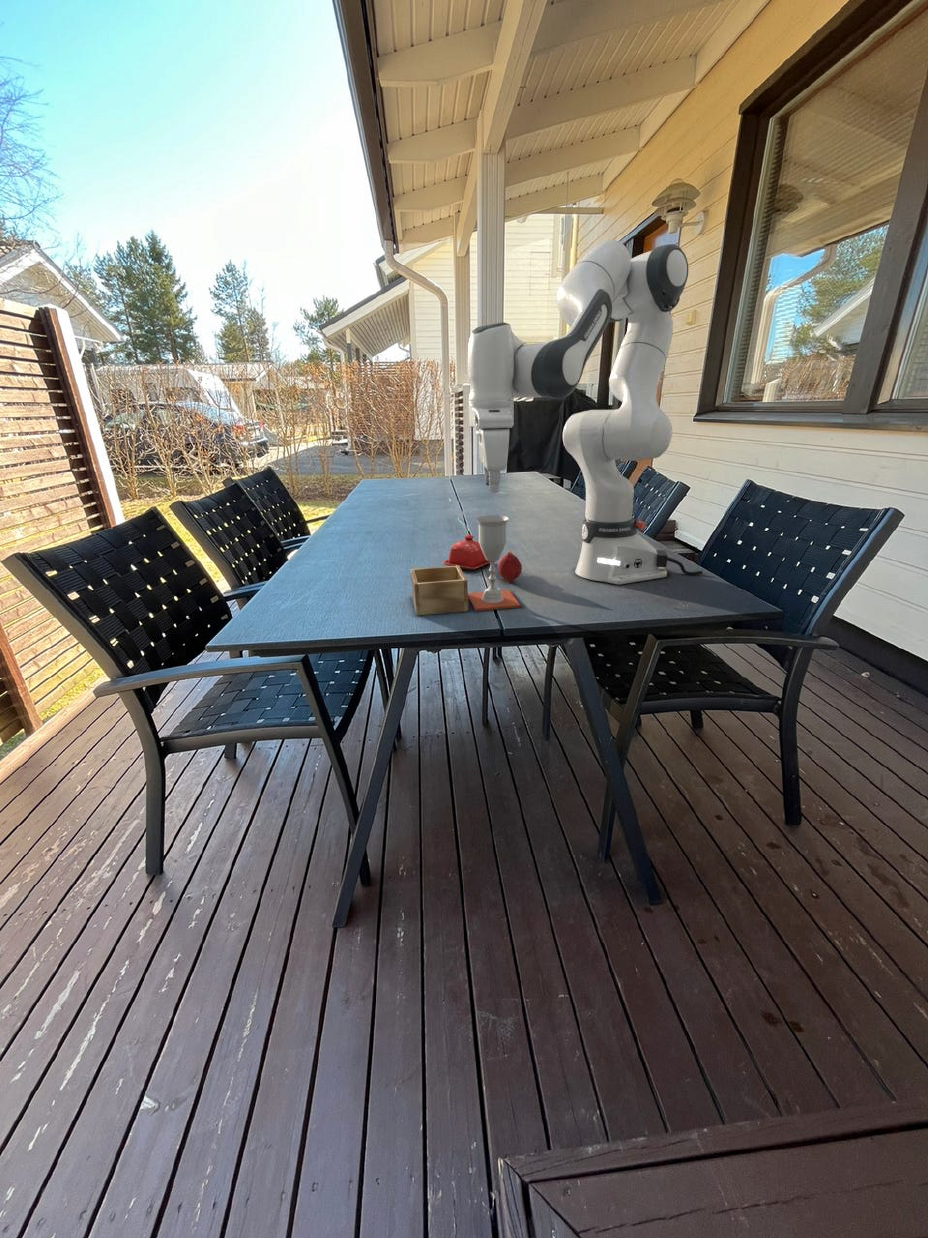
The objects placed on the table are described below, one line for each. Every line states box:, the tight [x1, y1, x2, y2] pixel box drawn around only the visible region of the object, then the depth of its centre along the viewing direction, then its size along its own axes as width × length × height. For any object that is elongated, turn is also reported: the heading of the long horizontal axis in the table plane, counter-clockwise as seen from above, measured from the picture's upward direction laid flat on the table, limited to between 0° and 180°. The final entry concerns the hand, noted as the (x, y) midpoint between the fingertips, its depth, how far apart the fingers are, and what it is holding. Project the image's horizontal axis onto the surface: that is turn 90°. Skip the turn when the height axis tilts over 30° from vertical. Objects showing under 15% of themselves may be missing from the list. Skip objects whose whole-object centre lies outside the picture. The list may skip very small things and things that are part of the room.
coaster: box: [468, 589, 521, 612], centre depth 117 cm, size 10×10×1 cm
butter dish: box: [442, 534, 490, 571], centre depth 142 cm, size 12×12×8 cm
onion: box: [497, 550, 523, 584], centre depth 128 cm, size 6×6×8 cm
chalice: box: [475, 514, 509, 603], centre depth 114 cm, size 7×7×18 cm
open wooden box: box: [410, 565, 469, 616], centre depth 115 cm, size 11×11×7 cm
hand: (491, 488), depth 108 cm, fingers open, 8 cm apart
